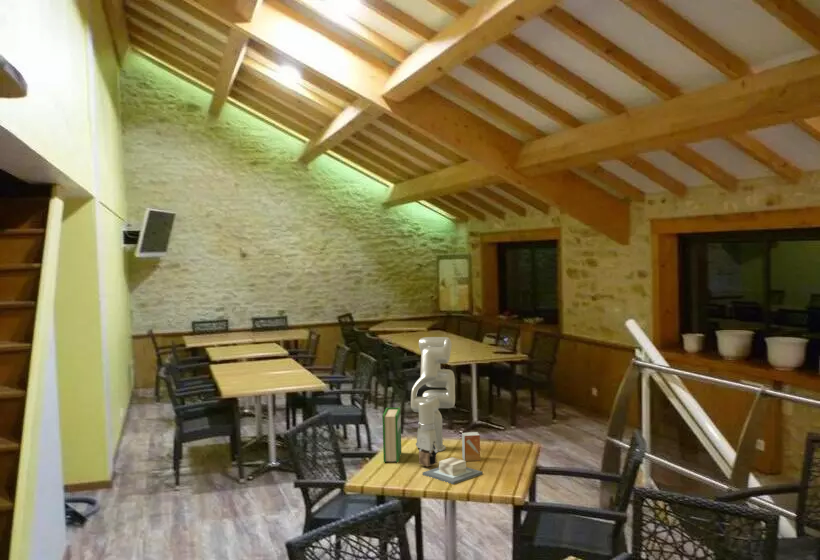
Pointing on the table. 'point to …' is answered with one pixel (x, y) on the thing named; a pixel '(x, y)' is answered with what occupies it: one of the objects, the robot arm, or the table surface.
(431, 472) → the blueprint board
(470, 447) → the small box
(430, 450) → the robot arm
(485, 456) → the table surface
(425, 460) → the walnut cube
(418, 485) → the table surface
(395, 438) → the hardback book
